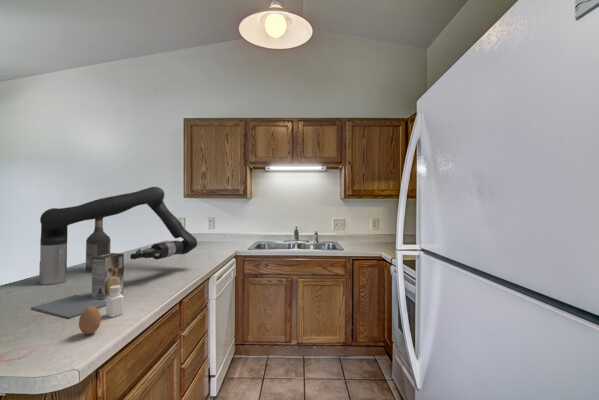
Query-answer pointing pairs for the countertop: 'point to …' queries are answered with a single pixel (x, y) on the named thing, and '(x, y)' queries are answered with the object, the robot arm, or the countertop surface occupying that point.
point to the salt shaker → (114, 302)
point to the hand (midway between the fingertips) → (131, 256)
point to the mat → (69, 306)
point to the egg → (89, 320)
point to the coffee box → (107, 274)
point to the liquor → (96, 244)
